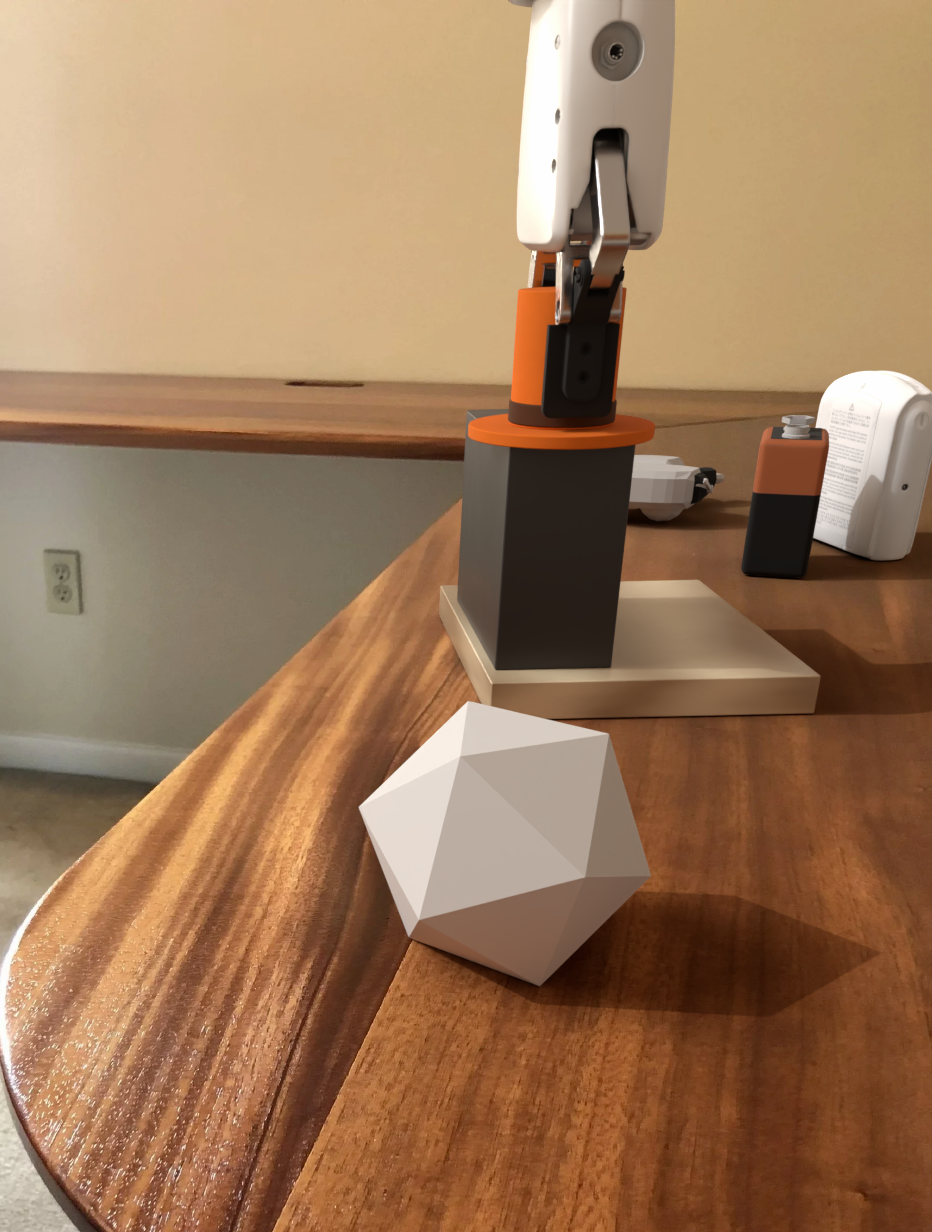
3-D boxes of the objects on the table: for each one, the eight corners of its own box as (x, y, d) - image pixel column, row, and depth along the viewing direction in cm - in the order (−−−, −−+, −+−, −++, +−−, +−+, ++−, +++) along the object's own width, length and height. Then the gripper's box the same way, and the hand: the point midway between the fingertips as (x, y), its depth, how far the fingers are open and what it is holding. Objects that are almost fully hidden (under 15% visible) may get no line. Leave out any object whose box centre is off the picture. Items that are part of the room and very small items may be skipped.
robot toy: (589, 501, 120) (547, 519, 108) (595, 450, 118) (552, 462, 106) (726, 510, 115) (698, 530, 103) (734, 457, 113) (707, 470, 101)
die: (677, 958, 46) (605, 690, 47) (661, 953, 37) (575, 627, 39) (446, 1011, 48) (385, 757, 50) (382, 1018, 40) (311, 712, 41)
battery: (807, 558, 95) (832, 414, 90) (805, 580, 89) (833, 427, 85) (744, 555, 96) (766, 412, 92) (739, 576, 91) (762, 425, 86)
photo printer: (920, 559, 94) (960, 376, 88) (867, 563, 93) (903, 379, 88) (837, 531, 103) (868, 363, 97) (787, 534, 102) (816, 365, 96)
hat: (627, 421, 68) (642, 282, 65) (677, 447, 60) (696, 290, 57) (456, 425, 68) (462, 286, 65) (483, 452, 60) (492, 295, 57)
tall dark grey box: (557, 598, 79) (574, 406, 74) (614, 667, 66) (639, 443, 61) (456, 600, 79) (466, 409, 74) (494, 670, 66) (509, 446, 61)
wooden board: (694, 610, 83) (699, 579, 82) (814, 713, 66) (821, 675, 65) (438, 616, 83) (440, 585, 82) (488, 720, 66) (491, 682, 65)
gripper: (757, -91, 47) (690, 431, 56) (635, -14, 63) (597, 388, 71) (552, -86, 47) (516, 435, 56) (480, -10, 63) (460, 391, 71)
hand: (562, 404), depth 63 cm, fingers closed on hat, 5 cm apart
